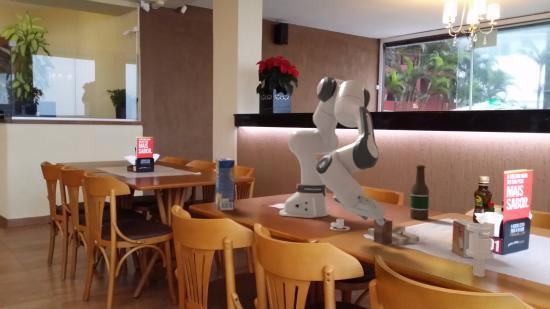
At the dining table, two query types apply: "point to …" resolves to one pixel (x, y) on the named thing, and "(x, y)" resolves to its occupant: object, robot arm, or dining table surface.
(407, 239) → the ash board
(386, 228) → the block
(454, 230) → the small box
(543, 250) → the dining table surface
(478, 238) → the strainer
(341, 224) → the white curved piece
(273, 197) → the dining table surface
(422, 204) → the beer bottle
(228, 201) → the juice carton
